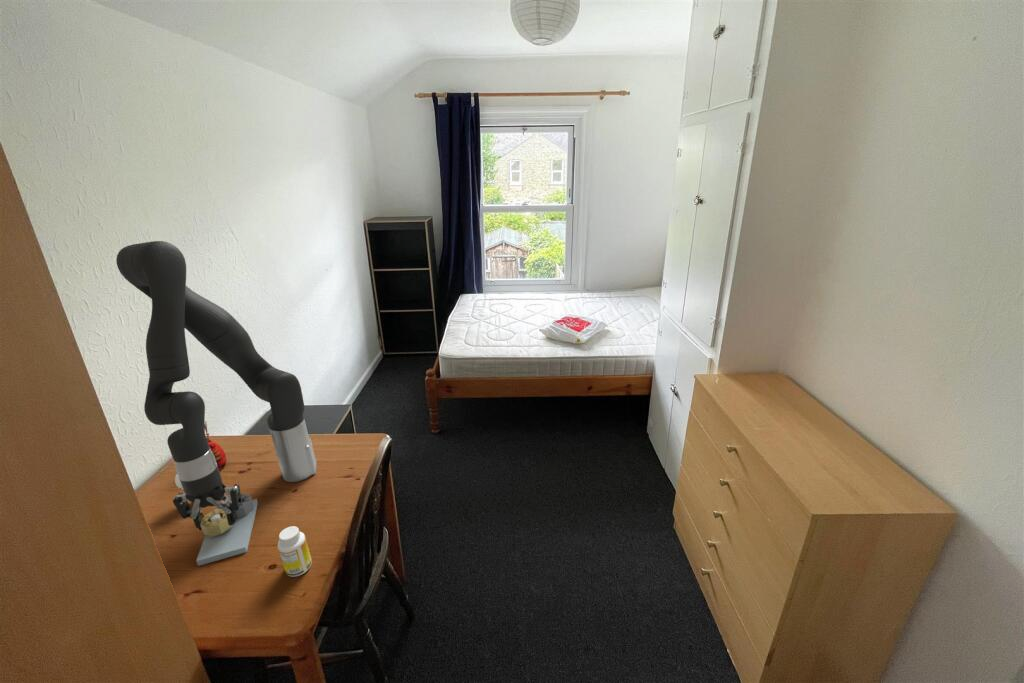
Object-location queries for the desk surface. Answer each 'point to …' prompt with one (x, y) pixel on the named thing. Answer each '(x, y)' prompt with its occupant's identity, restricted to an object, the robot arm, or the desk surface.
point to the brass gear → (215, 523)
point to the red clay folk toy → (216, 451)
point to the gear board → (230, 534)
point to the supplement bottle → (294, 551)
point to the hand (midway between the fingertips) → (218, 525)
